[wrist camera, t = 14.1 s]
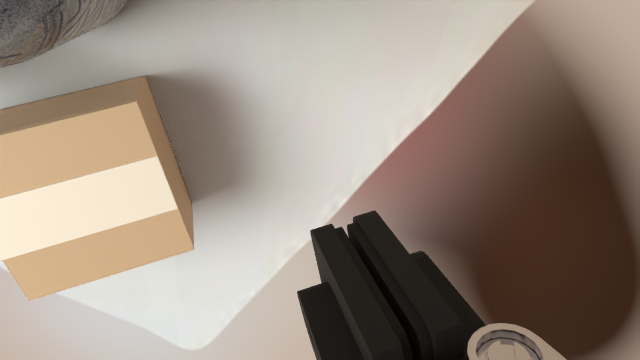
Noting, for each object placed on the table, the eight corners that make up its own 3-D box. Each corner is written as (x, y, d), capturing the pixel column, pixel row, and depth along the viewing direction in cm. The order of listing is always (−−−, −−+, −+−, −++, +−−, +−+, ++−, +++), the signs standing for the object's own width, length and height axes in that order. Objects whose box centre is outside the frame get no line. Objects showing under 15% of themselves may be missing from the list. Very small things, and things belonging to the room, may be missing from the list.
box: (145, 75, 41) (137, 98, 34) (192, 202, 47) (193, 243, 40) (-18, 113, 38) (-62, 146, 32) (55, 241, 45) (32, 292, 38)
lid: (137, 98, 34) (136, 102, 33) (193, 244, 40) (194, 250, 39) (-64, 148, 31) (-71, 153, 30) (31, 294, 38) (28, 302, 37)
